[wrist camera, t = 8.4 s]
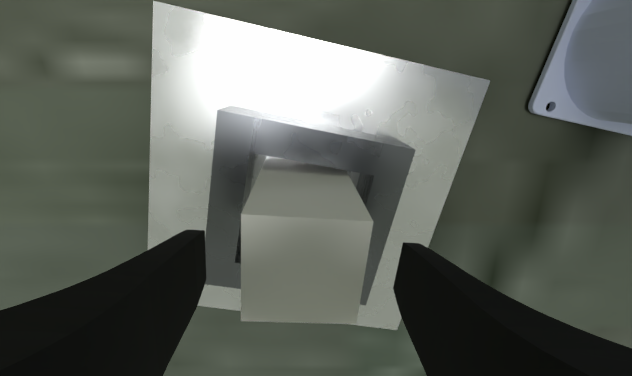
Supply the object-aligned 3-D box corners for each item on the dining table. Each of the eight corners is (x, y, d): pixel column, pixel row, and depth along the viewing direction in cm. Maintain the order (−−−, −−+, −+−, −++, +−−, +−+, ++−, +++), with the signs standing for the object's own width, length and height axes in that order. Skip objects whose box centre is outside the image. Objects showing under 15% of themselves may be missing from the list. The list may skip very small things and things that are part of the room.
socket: (478, 80, 16) (527, 80, 12) (392, 318, 21) (410, 363, 17) (163, 6, 14) (120, -18, 10) (154, 288, 19) (123, 332, 16)
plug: (342, 162, 16) (373, 221, 9) (334, 230, 17) (356, 324, 10) (266, 157, 15) (240, 214, 9) (263, 226, 17) (240, 321, 10)
